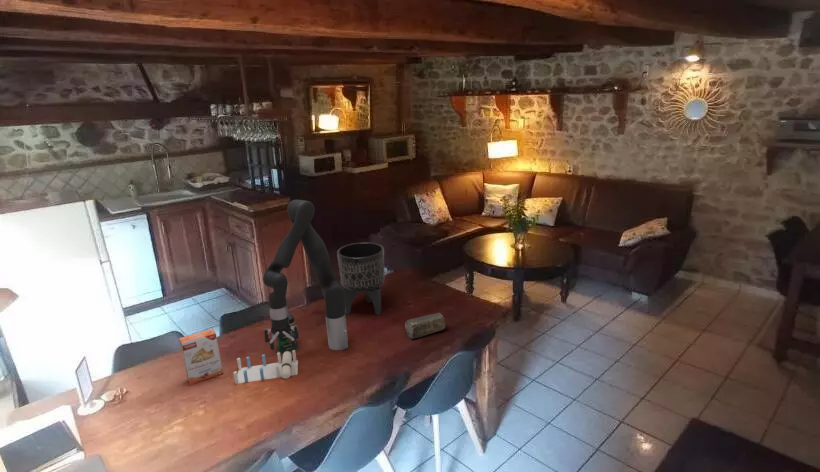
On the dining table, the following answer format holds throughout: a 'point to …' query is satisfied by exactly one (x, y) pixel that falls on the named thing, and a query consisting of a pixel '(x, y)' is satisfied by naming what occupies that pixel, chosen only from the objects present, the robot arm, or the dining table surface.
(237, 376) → the white pegged rack
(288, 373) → the banded cream tube
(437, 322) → the stone block
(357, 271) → the planter
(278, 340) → the coffee jar
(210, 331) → the cracker box
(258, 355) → the dining table surface
